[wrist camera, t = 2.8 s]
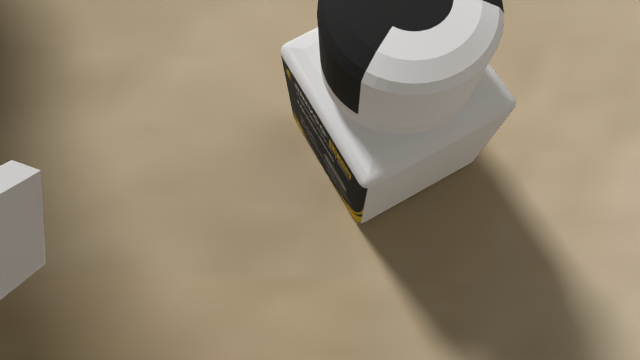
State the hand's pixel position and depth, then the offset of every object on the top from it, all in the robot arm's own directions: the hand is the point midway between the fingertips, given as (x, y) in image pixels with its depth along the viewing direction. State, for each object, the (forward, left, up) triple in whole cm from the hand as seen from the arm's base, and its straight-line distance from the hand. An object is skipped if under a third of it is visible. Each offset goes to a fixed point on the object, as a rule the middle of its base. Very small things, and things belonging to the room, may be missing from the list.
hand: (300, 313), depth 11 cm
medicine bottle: (0, +10, -14) cm, 18 cm away
